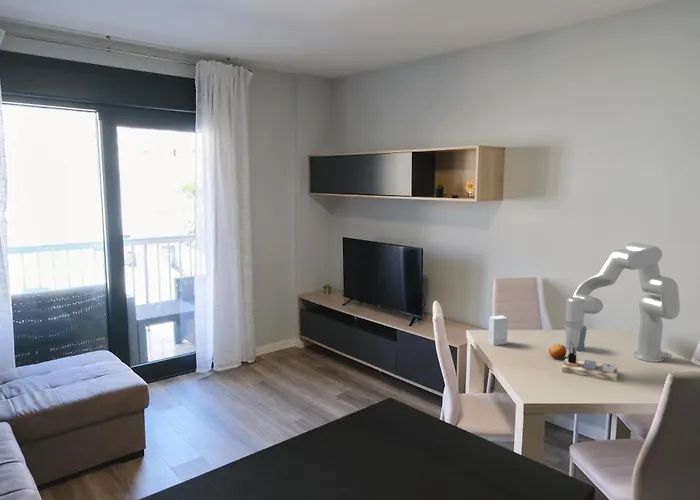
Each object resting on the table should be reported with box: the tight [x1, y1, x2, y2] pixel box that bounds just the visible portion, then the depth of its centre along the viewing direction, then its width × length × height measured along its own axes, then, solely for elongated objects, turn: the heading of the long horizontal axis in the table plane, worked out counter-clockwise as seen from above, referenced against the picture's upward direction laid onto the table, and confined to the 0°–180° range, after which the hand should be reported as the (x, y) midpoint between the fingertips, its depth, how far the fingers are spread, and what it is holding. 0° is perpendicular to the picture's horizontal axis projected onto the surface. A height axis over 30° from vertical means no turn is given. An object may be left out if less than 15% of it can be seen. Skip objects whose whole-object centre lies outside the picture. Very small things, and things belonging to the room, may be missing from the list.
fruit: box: [548, 343, 567, 360], centre depth 241 cm, size 8×8×8 cm
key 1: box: [602, 362, 616, 373], centre depth 219 cm, size 5×5×3 cm
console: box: [561, 358, 618, 382], centre depth 223 cm, size 22×12×2 cm, turn 59°
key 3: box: [566, 360, 578, 367], centre depth 227 cm, size 5×5×3 cm
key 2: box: [583, 359, 597, 370], centre depth 223 cm, size 5×5×3 cm
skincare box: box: [488, 314, 509, 346], centre depth 262 cm, size 8×6×15 cm
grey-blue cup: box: [565, 324, 588, 352], centre depth 254 cm, size 10×10×12 cm
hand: (571, 362), depth 227 cm, fingers closed
